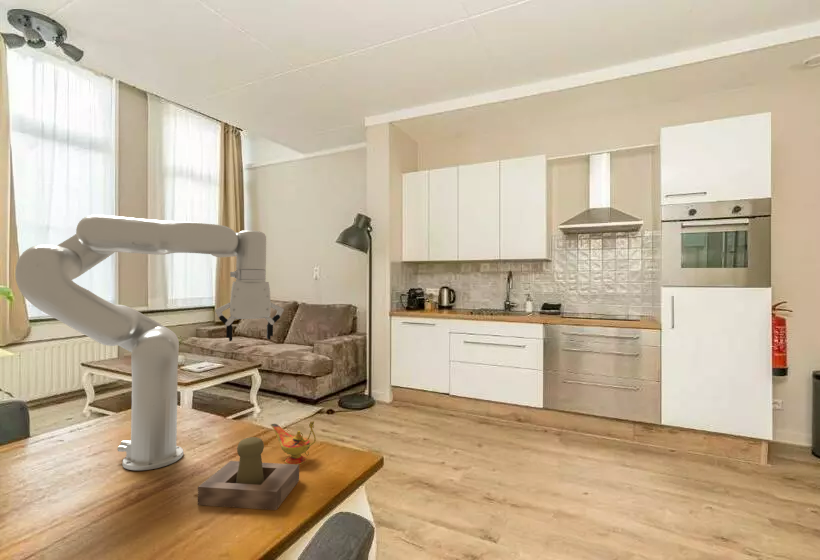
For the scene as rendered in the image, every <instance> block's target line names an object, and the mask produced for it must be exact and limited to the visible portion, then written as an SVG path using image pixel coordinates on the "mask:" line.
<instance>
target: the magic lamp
mask: <svg viewBox="0 0 820 560" xmlns="http://www.w3.org/2000/svg"><path fill="white" fill-rule="evenodd" d="M314 424H315V421H314V420H313V421H310V422H309V424H308V426H309V428H310V431H309V434H308V436H307V438H305V437H304V434H303V432H301V431H300V430H297V432H296V434H295V435H291V434H290V433H288V432H287V431H286V430H285V429H283V428H282V427H281V425H279V424H277V423H270V426H271V428H272V429H273V431H274V433H275V435H276V438H277V440H278V442H279V444H280V446H281V450H282V452H284V453H286V454H287V455H290V456H289V457H287V458H286V459H285V460H284V462H285V464H296V465H301V464H304V463H305V462H307V457H306V456H310V455H309V454H310V453H309V449H310V448H311V447H312V446H313V445H314V444H315V443H316V439H317V437H316V434H315V432H314V430H313V429H314V428H315V425H314ZM311 434H312V435H313V437H314V438H313V439H314V441H313V442H312V443H311V441H310V437H311ZM307 453H308V454H307ZM303 454H304V455H305V456H303Z"/></svg>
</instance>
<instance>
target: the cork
mask: <svg viewBox="0 0 820 560" xmlns="http://www.w3.org/2000/svg"><path fill="white" fill-rule="evenodd" d="M264 448H265V444H264V441H263V440H262V438H260V437H257V436H256V437H255V436H251V437H246V438H243V439H242V440H240V441H239V442H238V444H237V448H236V450H237V451H236V452H237V455H238V456H239V460H238V461H239V467H238V473H237V480H236V483H239V484H255V485H261V484H262V483H263V482H264V475H263V467H262V463H263V461H262V454H263V452H264Z"/></svg>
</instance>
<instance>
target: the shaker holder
mask: <svg viewBox="0 0 820 560" xmlns="http://www.w3.org/2000/svg"><path fill="white" fill-rule="evenodd" d="M238 467H239V460H230V461H228V462H227V463H226V464H225V465H223V466H222V467H221V468H220V469H219V470H217V471H216V472H214V473H213V474H212V475H211V476H210V477H208V478H207V479H206V480H205V481H203V482H202V483H201V484H200V485H198V486H197V505H198V506H209V507H210V506H211V507H226V508H236V509H237V508H239V509H240V508H242V509H252V510H253V509H255V510H267V511H268V510H269V511H277V510H278V508H280V506H281V505H282V504H283V502H284V501H285V500H286V498H287V497H288V496H289V495H290V493H291V492H292V491H293V489H294V488H295V487H296V485H297V484H298V483H299V481H300V464H297V465H296V464H287V463H277V462H276V463H274V462H262V467H263V475H264V482H263V483H262V484H261V485H255V484H239V483H236V480H237V473H238Z"/></svg>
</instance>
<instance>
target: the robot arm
mask: <svg viewBox="0 0 820 560" xmlns="http://www.w3.org/2000/svg"><path fill="white" fill-rule="evenodd" d="M75 230H76V231H75V233H76V234H73V235H72V236H70V237H69V238H67V239H66V240H64V241H62V242H61V243H59V244H57V245H55V244H49V243H48V244H46V243H44V244H37V245H34V246H31V247H29V248H27V249H25V251H23V252H22V254H21V255H20V256H19V258H18V259H17V262H16V265H15V273H14V275H15V281H16V285H17V287H18V289H19V292H20V293H21V294H22V296H23V297H24V298H25V300H26V301H28V302H29V303H30V304H31V305H32V306H34V307H35V308H36V309H38V310H39V311H41V312H43V313H45V314H46V315H48V316H50V317H52V318H53V319H56V320H57V321H59V322H61V323H63V324H64V325H66V326H68V327H70V328H71V329H73V330H75V331H77V332H79V333H81V334H83V335H85V336H87V337H88V338H90V339H92V340H94V341H95V342H97V343H98V344H101V345H103V346H107V347H111V346H113V347H114V346H118V347H120V348H122V349H124V350H126V351H128V352H129V353H131V357H130V359H131V363H130V365H131V366H130V367H131V415H130V417H131V418H130V419H131V421H130V422H131V425H130V429H131V430H130V440H129V439H128V440H127V439H123V440H122V441H121V442H120V445H119V446H118V447H117V449H116V450H117V452H123V453H124V452H125V453H126V454H125V455H126V456H125V457H124V458H123V459H122V467H123V468H124V469H125V470H130V471H148V470H153V469H154V470H155V469H159V468H160V469H161V468H163V467H166V466H169V465H172V464H174V463H176V462H177V461H179V460H180V459H181V458H182V457H183V456H184V449H183V447H181V446H178V445H177V436H178V435H177V432H178V429H177V427H178V421H177V420H178V372H179V371H178V369H179V365H178V364H179V352H180V351H179V350H180V341H179V338H178V336H177V334H176V332H174V331H173V330H171V329H170V328H168V327H167V326H165V325H163V324H162V323H159V322H158V321H156V320H154V319H152V318H151V317H150V316H147V315H146V314H143V313H142V312H140V311H138V310H136V309H134V308H133V307H130V306H128V305H124V304H114V303H112V302H110V301H108V300H106V299H104V298H102V297H100V296H98V295H97V294H95V293H93V292H92V291H90V290H89V289H87V288H85V287H83V286H80V285H79V284H78V283H75V282H74V281H73V280H75V279H77V278H78V277H80V276H82V275H84V274H85V273H87V272H88V271H89V270H91V269H92V268H94V267H95V266H97V265H98V264H101V263H102V262H103V261H104V260H106V259H108V258H109V257H110V256H112V255H113V254H115V253H129V254H130V253H131V254H142V255H143V254H144V255H155V256H156V255H157V256H158V255H170V254H180V253H181V254H182V253H183V254H204V255H211V256H213V257H215V258H230V257H231V258H233V257H236V259H235V260H236V263H235V267H236V269H235V271H230V272H229V273H230V274H229V275H230V277H231V278H234V279H235V281H233V282H232V286H231V291H230V302H227V303H226V304H224V305H221V306H219V307H218V308H215V309H214V311H215V313H216V316H217V317H218V319H219V320H220V321H221V322H222V323H223V324H224V325H225V326H226V334H225V335H226V337H225V338H226V339H228V341H229V342H232V341H233V325H232V324H233V322H234V321H235V320H236V319H237V320H246V319H247V320H248V319H249V320H252V319H254V320H255V319H265V320H266V321H267V324H266V339H267V340H271V337H273V336H274V325H275V323H276V322H277V321H278V320H279V319H281V316H282V314H283V313H284V310H285V309H284V308H283V307H281V306H279V305H277V304H275V303H273V302H271V290H270V289H271V288H270V283H269V281H266V279H267V278H266V274H267V271H266V269H267V235H266V234H265V233H264V232H262V231H258V230H241V231H239V232H236V231H235V230H233V229H232V228H231V227H229V226H226V225H222V224H221V225H220V224H215V223H213V224H212V223H205V222H195V221H193V222H192V221H176V220H175V221H174V220H163V219H161V220H159V219H151V218H150V219H149V218H136V217H130V216H128V217H127V216H118V215H107V214H91V215H87V216H84V217H83V218H81V219H80V220H79V222H78V223H77V225H76V229H75ZM227 309H229V314H230V316H229V318H227V317H226V316H224V314H223V311H226V310H227ZM271 309H274V310H275V311H276V314H275V315H273V317H271Z"/></svg>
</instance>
